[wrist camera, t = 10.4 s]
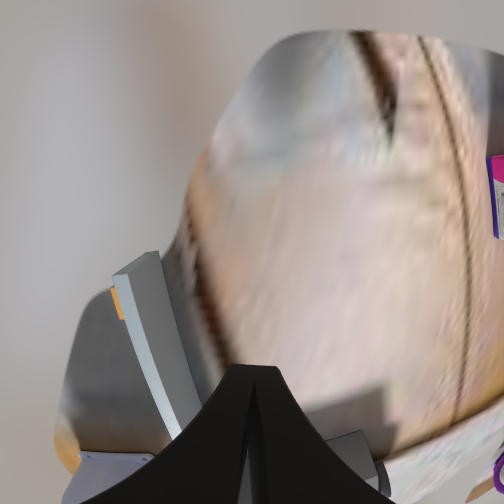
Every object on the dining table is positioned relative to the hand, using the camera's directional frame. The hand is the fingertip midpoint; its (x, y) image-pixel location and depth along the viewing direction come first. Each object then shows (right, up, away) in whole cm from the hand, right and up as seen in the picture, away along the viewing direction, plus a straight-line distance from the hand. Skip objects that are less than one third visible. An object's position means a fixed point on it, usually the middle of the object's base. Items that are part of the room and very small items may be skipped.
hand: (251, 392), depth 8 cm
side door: (-4, -5, +10) cm, 12 cm away
